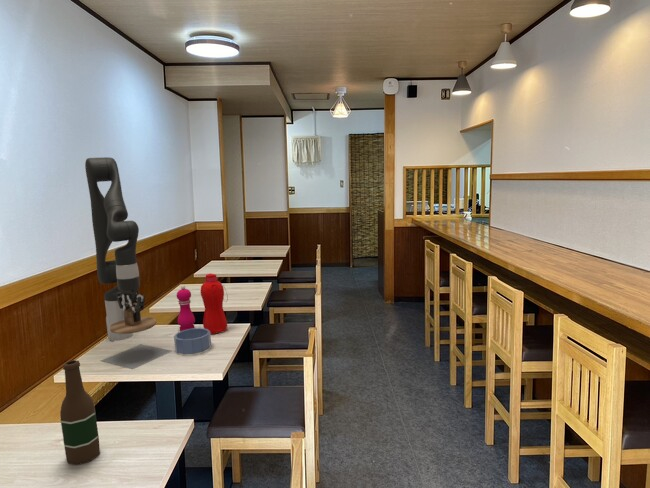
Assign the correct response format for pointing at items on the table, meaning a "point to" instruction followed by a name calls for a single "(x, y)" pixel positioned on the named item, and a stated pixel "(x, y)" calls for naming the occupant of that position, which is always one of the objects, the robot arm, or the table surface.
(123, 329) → the lid
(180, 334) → the bowl
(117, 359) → the mat
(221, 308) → the water bottle
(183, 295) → the pepper mill
